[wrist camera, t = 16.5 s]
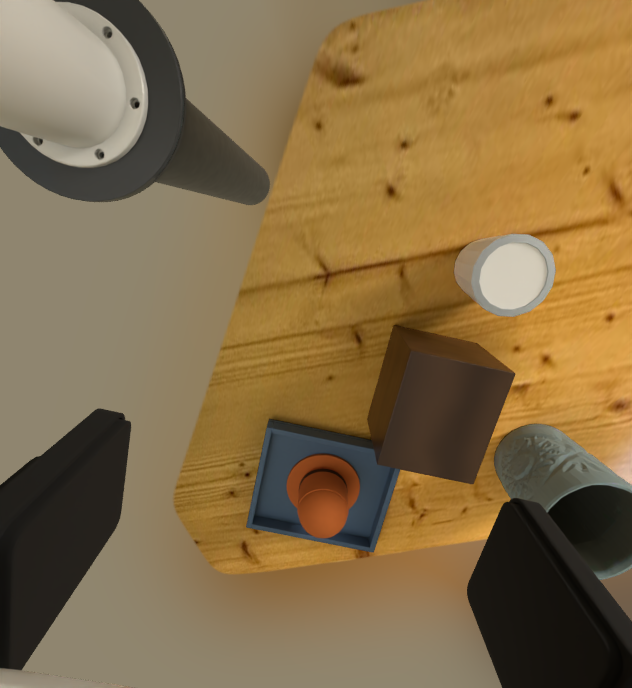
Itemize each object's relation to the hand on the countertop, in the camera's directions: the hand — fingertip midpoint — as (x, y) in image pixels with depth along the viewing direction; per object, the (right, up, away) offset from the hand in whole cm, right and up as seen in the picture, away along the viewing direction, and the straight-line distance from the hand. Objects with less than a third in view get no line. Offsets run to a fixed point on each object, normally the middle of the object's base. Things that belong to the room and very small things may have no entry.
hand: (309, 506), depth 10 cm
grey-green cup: (+24, -9, +36) cm, 45 cm away
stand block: (+11, 0, +34) cm, 36 cm away
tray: (+1, -12, +38) cm, 40 cm away
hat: (+1, -12, +37) cm, 39 cm away
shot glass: (+17, +12, +31) cm, 37 cm away
